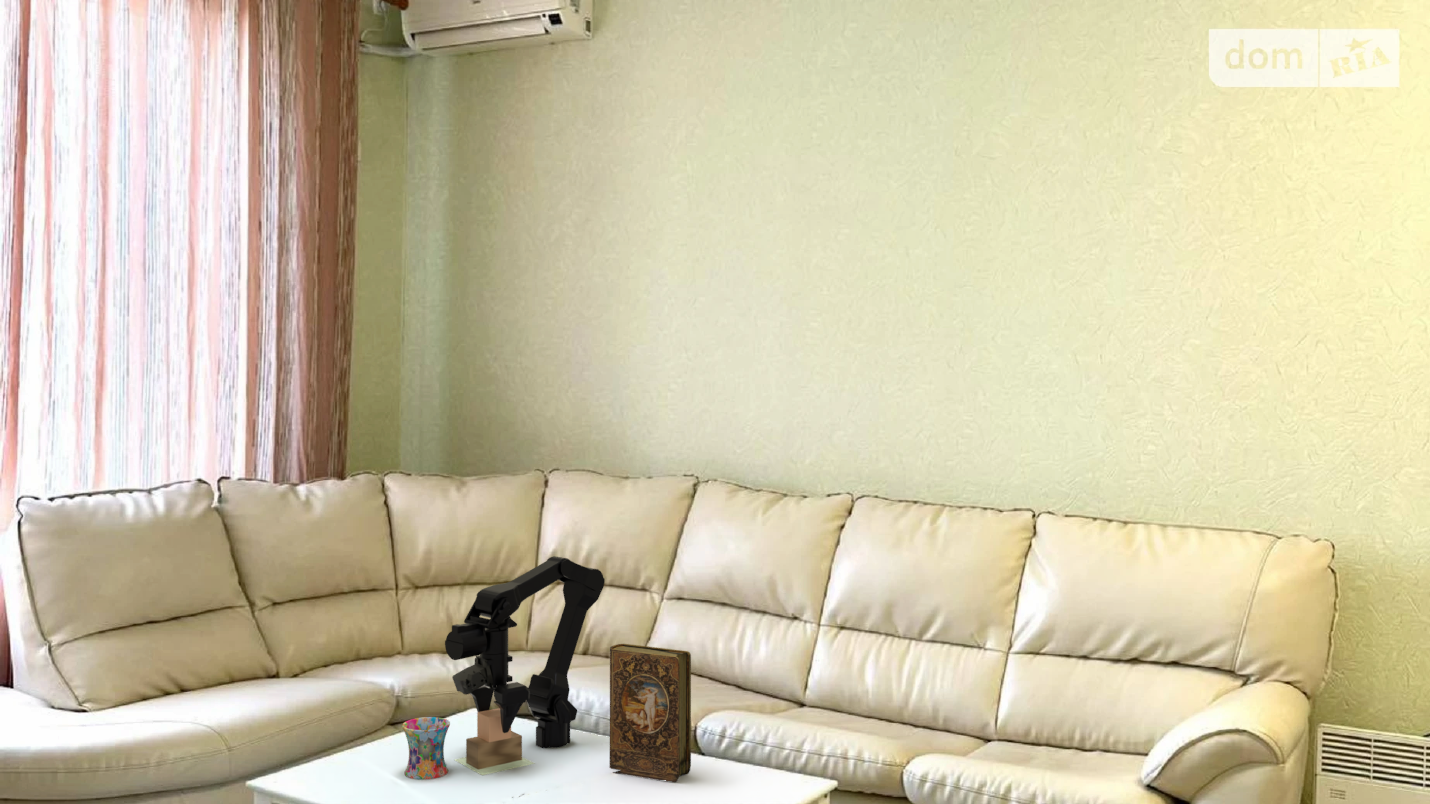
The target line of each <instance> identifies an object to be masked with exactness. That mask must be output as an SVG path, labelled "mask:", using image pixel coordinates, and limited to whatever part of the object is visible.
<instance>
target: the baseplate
mask: <svg viewBox="0 0 1430 804" xmlns="http://www.w3.org/2000/svg"><path fill="white" fill-rule="evenodd" d="M454 761H455V762H457V763H458V764H461V765H462V766H464V767H465V768H468V769H470V770H471V771H473V772H475V773H478V774H479V775H481V776H485V775H489V774H494V773H499V772H504V771H508V770H511V769H517V768H521V767H527V766H529V765H530V766H531V765H534V764H536V762H533V761H532V760H529V759H527V758H525V757H523V756H522V760H519V761H515V762H510V763H505V764H501V765H496V766H492V767H487V768H483V769H476V768H474V767H473V766H471V765H469V764H467V763H466V756H464V757H459V758H455V759H454Z"/></svg>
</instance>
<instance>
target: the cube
mask: <svg viewBox="0 0 1430 804" xmlns="http://www.w3.org/2000/svg"><path fill="white" fill-rule="evenodd" d="M476 714H477V715H476V716H477V717H476V718H477V719H476V720H477V727H476V728H477V730H476V731H477V733H476V735H477V736H476V737H479V738H481V739H483V740H485V741H487V742H494V741H499V740H504V739H508V738H511V731H512V726H511V727H510V729H509V731H508V732H507V733H503V731H502V725H501V715H500V708H499V707H498V708H492V709H489V710H487V711H481V712H477V713H476Z"/></svg>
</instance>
